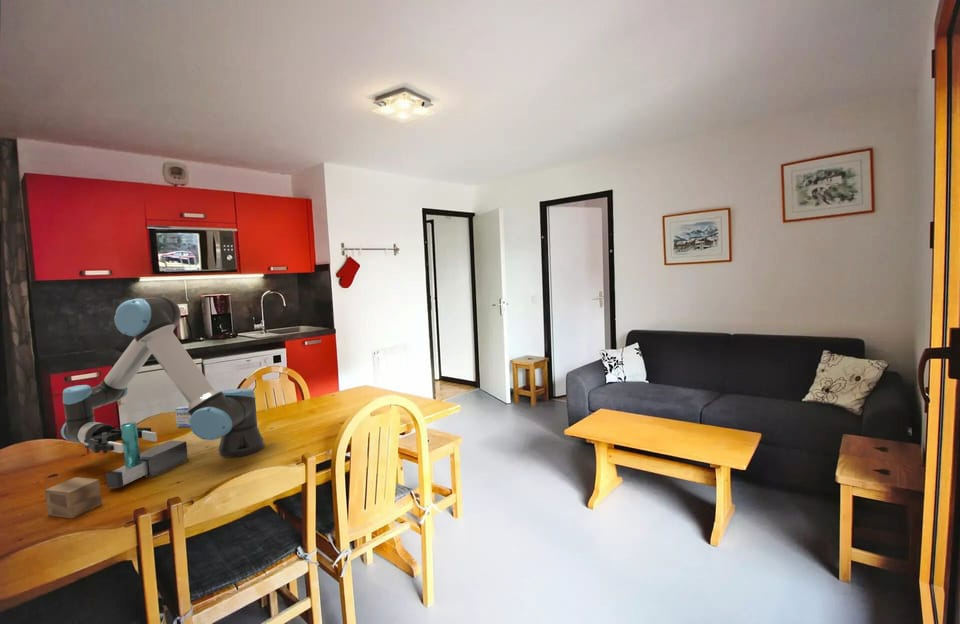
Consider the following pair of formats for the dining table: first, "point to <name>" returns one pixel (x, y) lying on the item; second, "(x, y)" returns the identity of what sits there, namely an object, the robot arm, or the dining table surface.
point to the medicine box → (182, 416)
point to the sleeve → (164, 456)
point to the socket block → (73, 497)
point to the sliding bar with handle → (128, 459)
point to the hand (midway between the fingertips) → (139, 442)
